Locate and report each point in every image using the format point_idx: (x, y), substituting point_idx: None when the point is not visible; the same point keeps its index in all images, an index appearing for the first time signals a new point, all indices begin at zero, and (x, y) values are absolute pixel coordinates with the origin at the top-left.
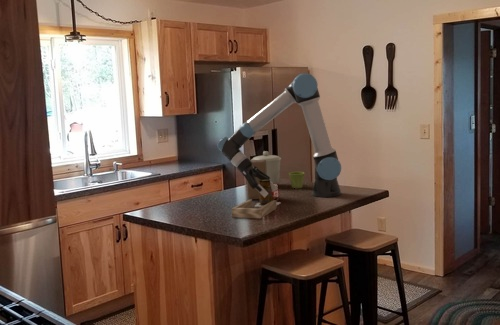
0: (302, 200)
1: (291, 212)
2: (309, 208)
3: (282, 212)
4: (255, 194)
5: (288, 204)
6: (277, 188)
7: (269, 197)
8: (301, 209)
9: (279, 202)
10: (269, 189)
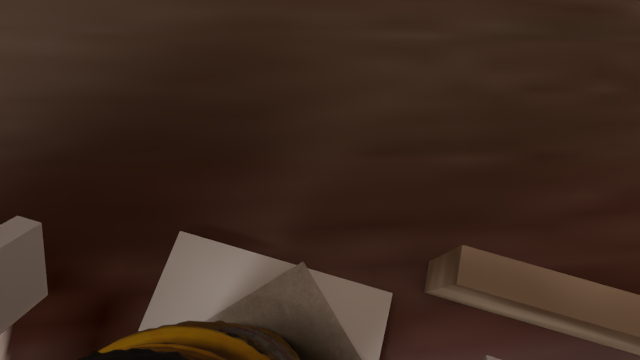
0: (102, 43)
1: (579, 124)
2: (431, 4)
3: (590, 195)
4: None
5: (254, 155)
6: (37, 224)
7: (291, 353)
8: (467, 55)
9: (195, 241)
10: (279, 357)
